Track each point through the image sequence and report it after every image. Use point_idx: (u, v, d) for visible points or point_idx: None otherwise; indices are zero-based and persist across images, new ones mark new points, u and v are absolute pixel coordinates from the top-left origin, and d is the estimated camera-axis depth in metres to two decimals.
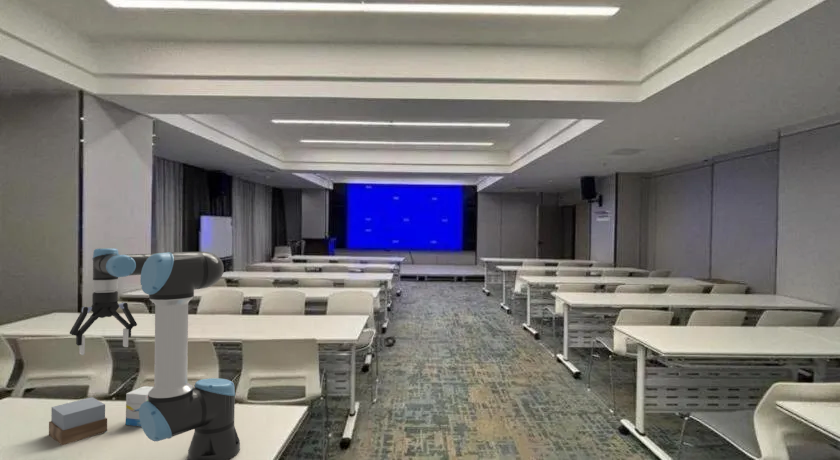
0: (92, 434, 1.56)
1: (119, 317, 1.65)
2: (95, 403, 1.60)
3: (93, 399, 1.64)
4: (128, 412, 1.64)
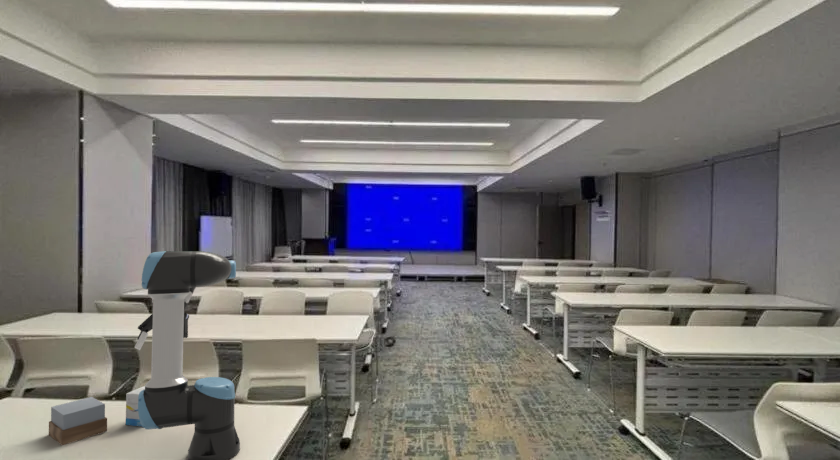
0: (92, 434, 1.56)
1: None
2: (95, 403, 1.60)
3: (93, 399, 1.64)
4: (128, 412, 1.64)
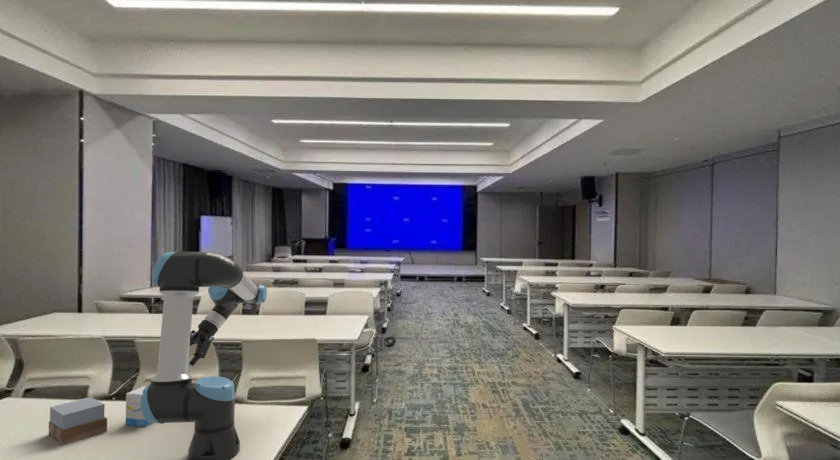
0: (92, 434, 1.56)
1: (198, 344, 1.81)
2: (94, 403, 1.60)
3: (92, 399, 1.64)
4: (128, 412, 1.64)
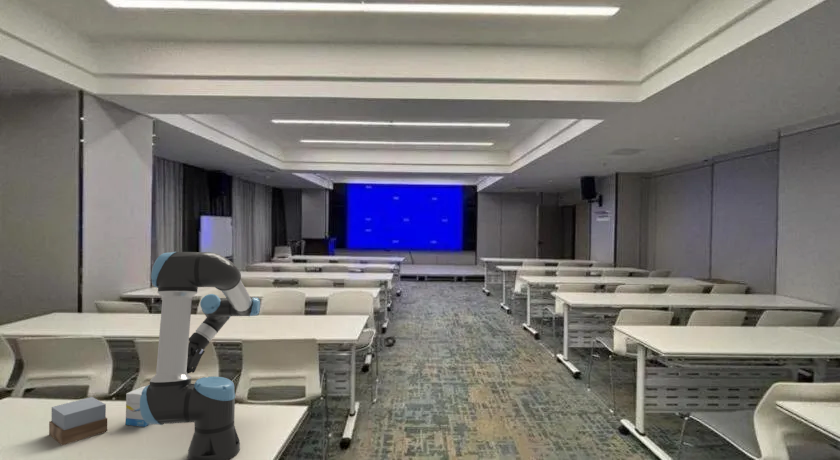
0: (92, 434, 1.56)
1: (188, 357, 1.78)
2: (96, 403, 1.60)
3: (93, 399, 1.64)
4: (128, 412, 1.64)
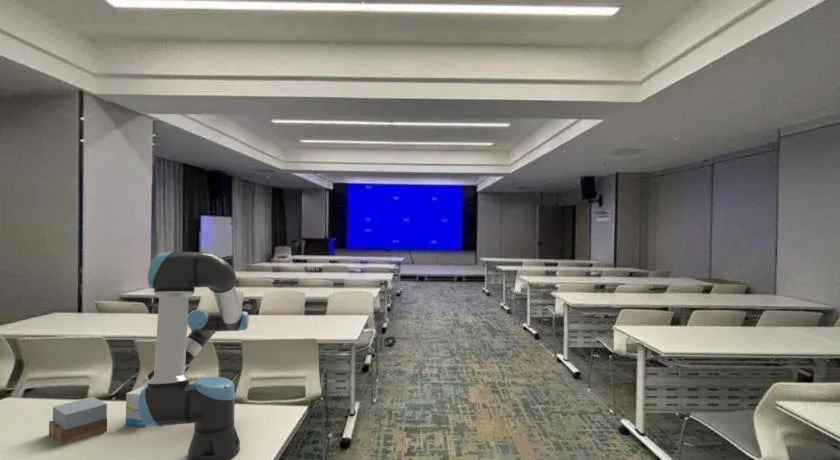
0: (92, 434, 1.56)
1: None
2: (97, 403, 1.60)
3: (94, 399, 1.64)
4: (128, 412, 1.64)
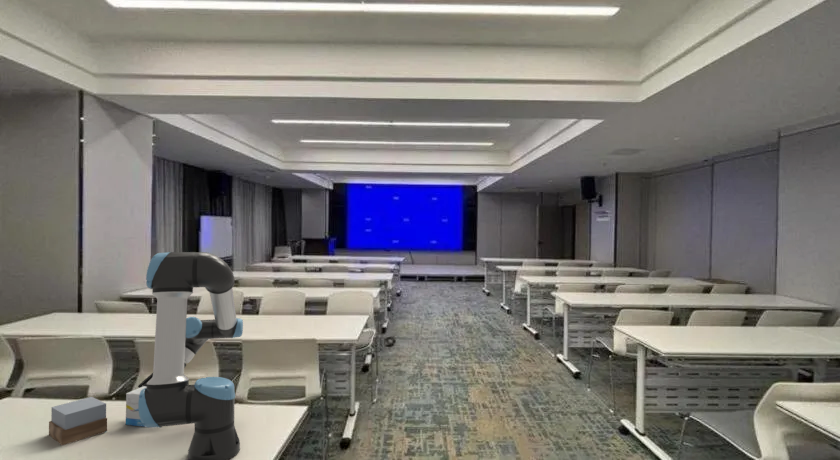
0: (92, 434, 1.56)
1: None
2: (96, 403, 1.60)
3: (93, 399, 1.64)
4: (128, 412, 1.64)
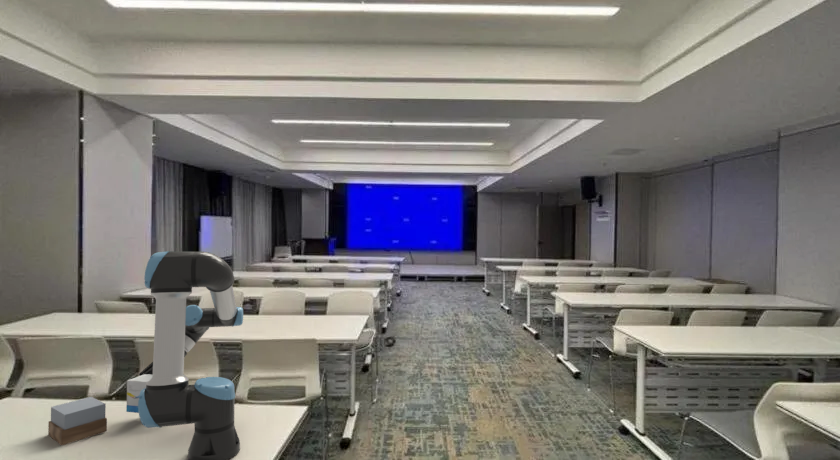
0: (92, 434, 1.56)
1: None
2: (95, 403, 1.60)
3: (92, 399, 1.64)
4: (129, 399, 1.65)
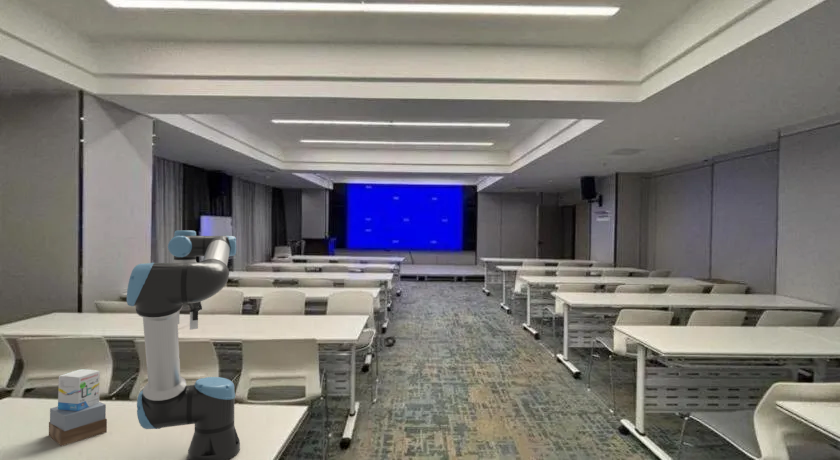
0: (91, 435, 1.55)
1: None
2: (95, 404, 1.60)
3: None
4: (61, 396, 1.54)
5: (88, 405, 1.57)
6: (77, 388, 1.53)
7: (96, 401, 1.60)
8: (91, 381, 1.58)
